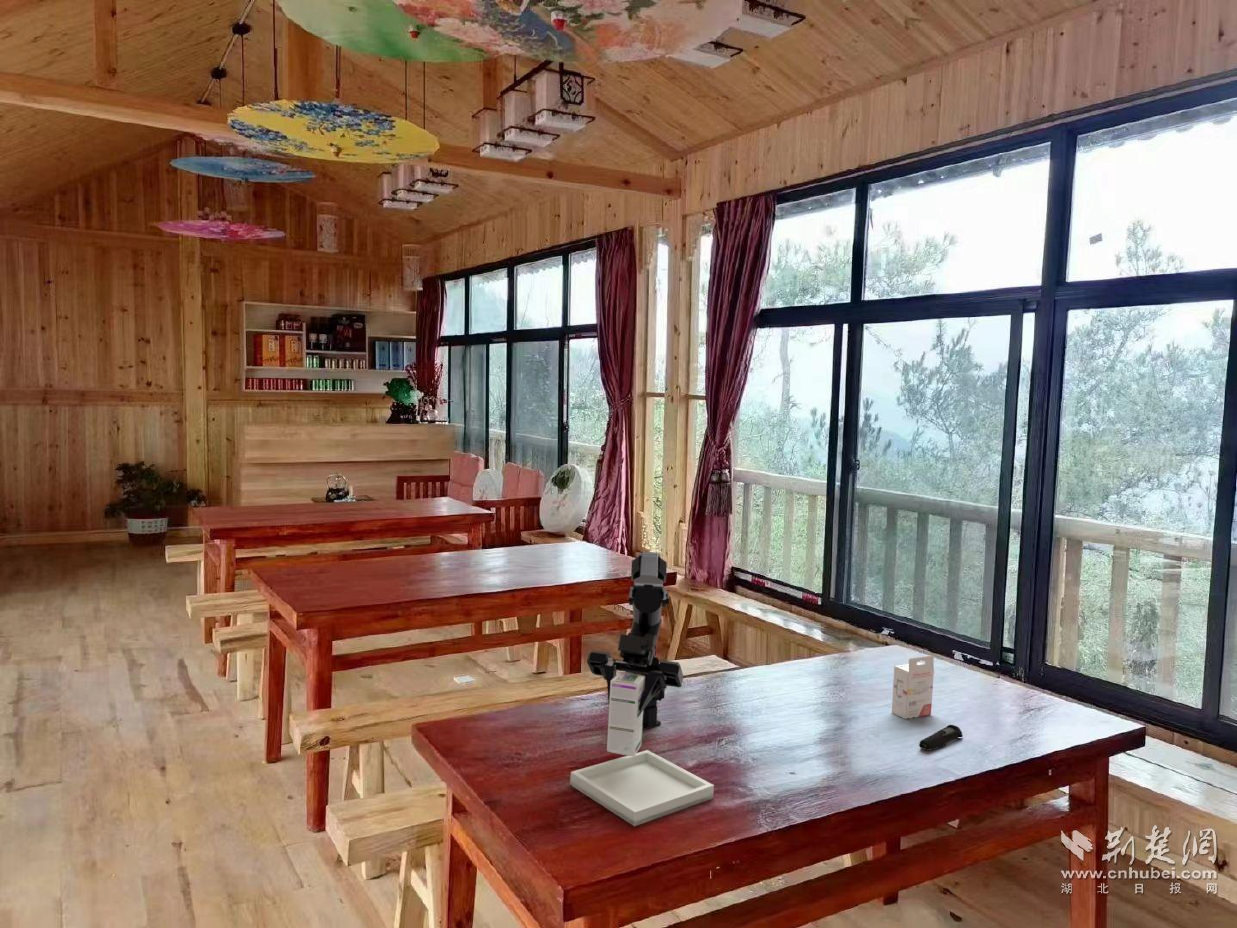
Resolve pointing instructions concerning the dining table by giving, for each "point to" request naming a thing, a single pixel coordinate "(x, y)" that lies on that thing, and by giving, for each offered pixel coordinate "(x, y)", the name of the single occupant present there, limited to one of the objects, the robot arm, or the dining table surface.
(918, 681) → the ink cartridge box
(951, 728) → the electric trimmer
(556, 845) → the dining table surface
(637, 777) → the tray
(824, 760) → the dining table surface
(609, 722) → the syrup box
